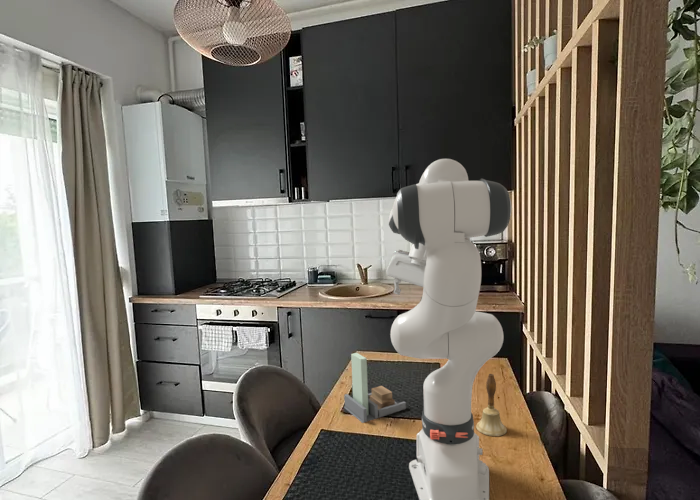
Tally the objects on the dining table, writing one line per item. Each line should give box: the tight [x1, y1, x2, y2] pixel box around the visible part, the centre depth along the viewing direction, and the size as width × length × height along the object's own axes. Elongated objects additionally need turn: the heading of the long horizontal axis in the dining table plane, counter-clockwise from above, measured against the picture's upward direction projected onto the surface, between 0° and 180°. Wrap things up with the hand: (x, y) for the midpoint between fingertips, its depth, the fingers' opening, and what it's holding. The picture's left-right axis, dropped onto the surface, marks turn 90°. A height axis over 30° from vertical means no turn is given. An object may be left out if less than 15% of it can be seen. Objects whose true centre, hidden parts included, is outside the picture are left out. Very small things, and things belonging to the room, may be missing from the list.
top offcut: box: [370, 385, 393, 403], centre depth 130 cm, size 4×6×2 cm, turn 29°
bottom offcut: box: [370, 395, 396, 409], centre depth 130 cm, size 5×7×2 cm
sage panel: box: [350, 352, 369, 415], centre depth 125 cm, size 2×6×18 cm, turn 29°
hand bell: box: [475, 373, 508, 437], centre depth 115 cm, size 8×8×16 cm
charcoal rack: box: [343, 392, 407, 424], centre depth 128 cm, size 16×12×5 cm
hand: (409, 298), depth 124 cm, fingers open, 8 cm apart
